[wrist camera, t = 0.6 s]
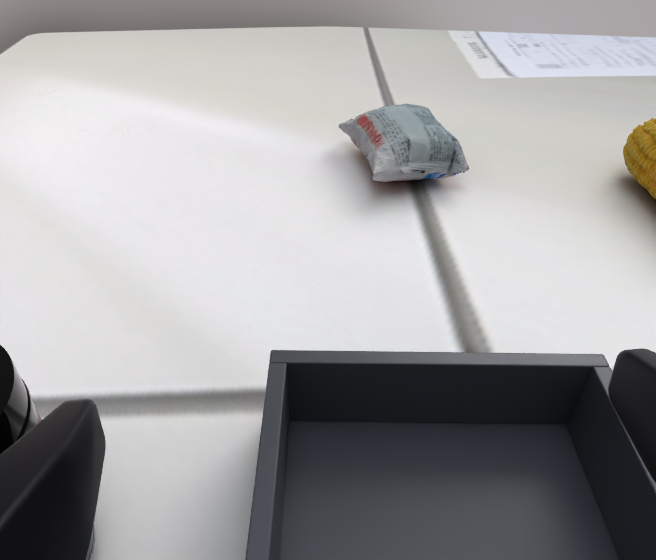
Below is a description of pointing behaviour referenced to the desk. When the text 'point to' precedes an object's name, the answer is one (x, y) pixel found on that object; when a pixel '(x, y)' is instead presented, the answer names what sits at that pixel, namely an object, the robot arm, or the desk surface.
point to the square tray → (446, 460)
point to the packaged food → (405, 144)
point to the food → (642, 155)
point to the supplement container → (18, 411)
